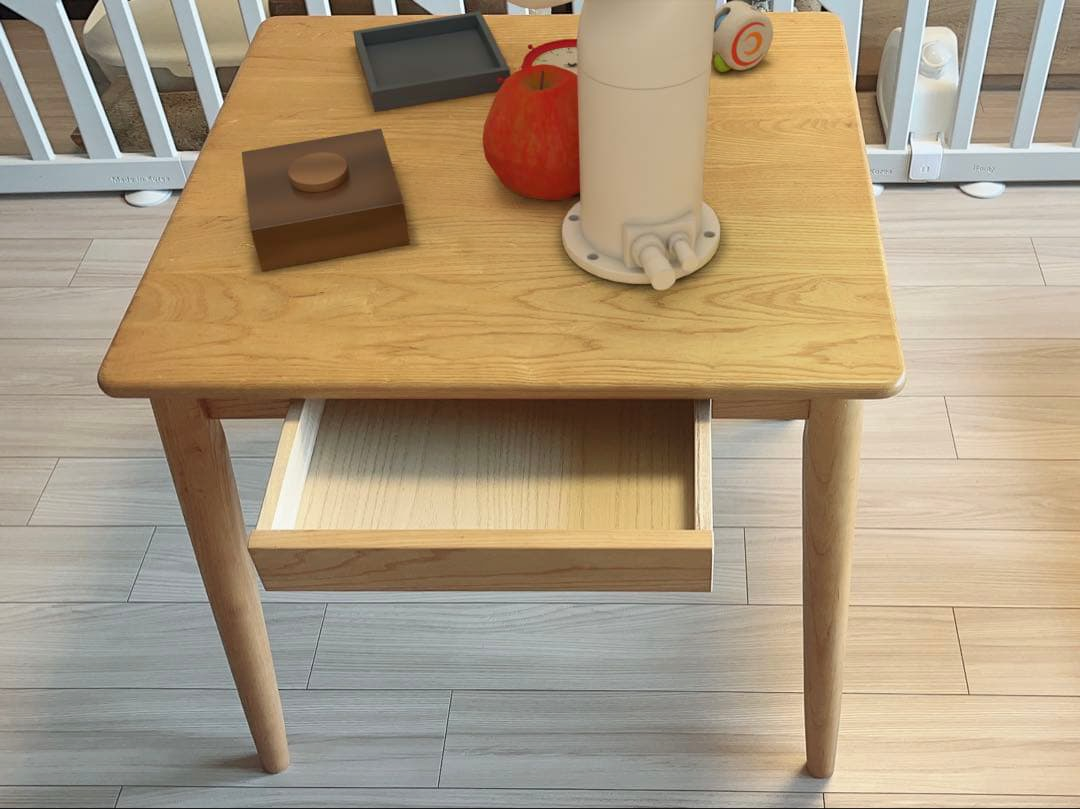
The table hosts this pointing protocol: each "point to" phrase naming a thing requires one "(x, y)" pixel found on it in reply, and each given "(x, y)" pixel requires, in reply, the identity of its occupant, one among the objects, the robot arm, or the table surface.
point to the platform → (323, 199)
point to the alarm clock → (552, 55)
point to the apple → (536, 133)
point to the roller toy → (740, 36)
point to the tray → (430, 60)
